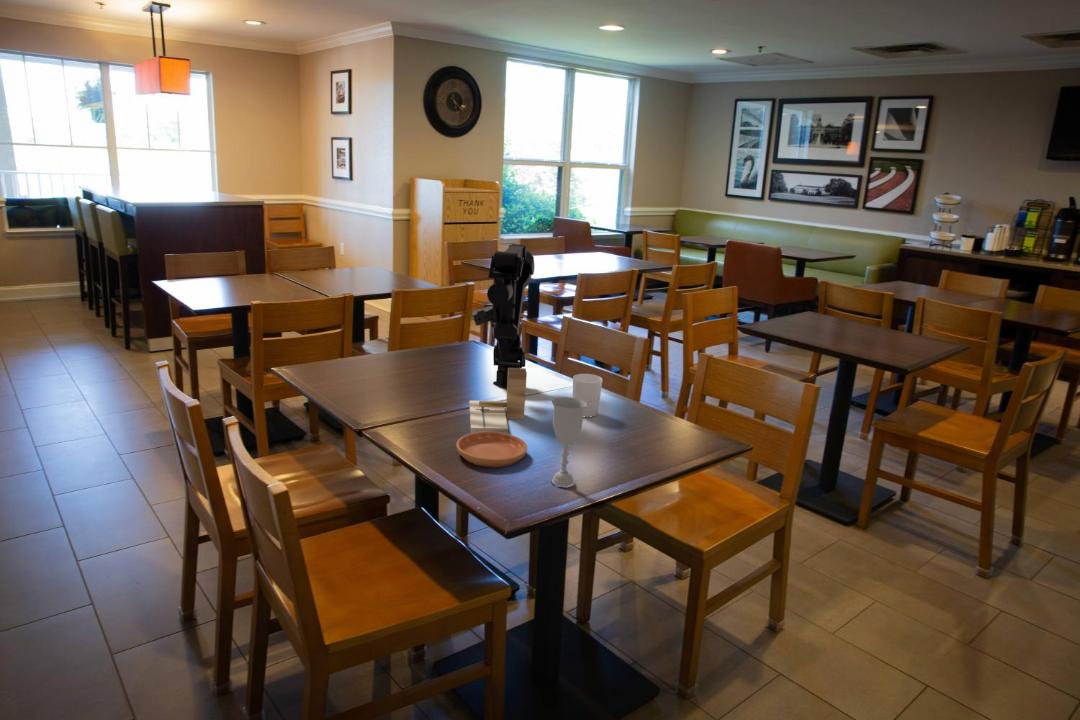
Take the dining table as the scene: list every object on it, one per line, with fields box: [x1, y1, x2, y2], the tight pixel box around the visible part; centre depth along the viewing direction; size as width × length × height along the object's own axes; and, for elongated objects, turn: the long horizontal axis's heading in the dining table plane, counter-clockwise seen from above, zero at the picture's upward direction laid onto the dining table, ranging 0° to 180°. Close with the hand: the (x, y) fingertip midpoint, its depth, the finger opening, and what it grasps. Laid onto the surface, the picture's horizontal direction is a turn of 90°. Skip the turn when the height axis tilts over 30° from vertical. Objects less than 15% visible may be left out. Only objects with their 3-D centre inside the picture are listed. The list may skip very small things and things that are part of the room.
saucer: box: [456, 432, 528, 468], centre depth 163 cm, size 16×16×3 cm
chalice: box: [551, 396, 587, 486], centre depth 149 cm, size 7×7×18 cm
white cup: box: [572, 373, 603, 418], centre depth 193 cm, size 8×8×10 cm
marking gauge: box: [478, 367, 528, 420], centre depth 186 cm, size 4×12×12 cm, turn 97°
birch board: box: [468, 400, 509, 434], centre depth 185 cm, size 20×9×2 cm, turn 7°
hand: (501, 354), depth 197 cm, fingers open, 9 cm apart
